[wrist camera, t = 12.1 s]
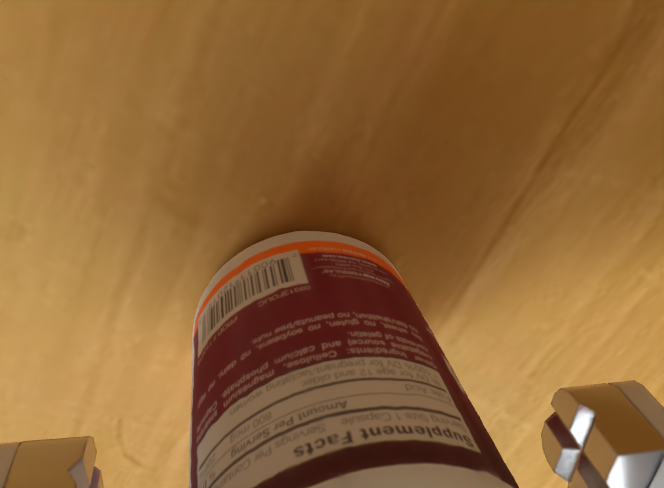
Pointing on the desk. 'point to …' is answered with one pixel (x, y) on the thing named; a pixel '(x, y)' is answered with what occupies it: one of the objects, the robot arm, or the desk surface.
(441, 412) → the pill bottle
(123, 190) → the desk surface
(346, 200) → the desk surface
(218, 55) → the desk surface
